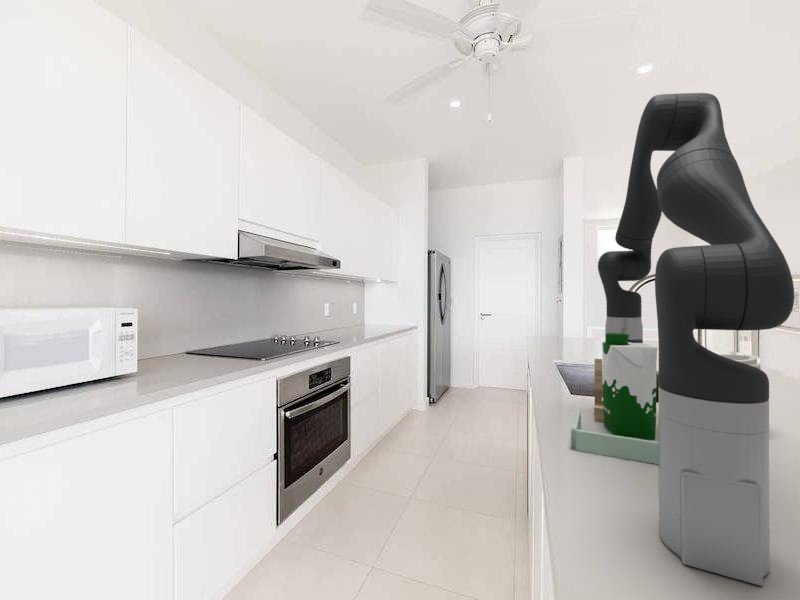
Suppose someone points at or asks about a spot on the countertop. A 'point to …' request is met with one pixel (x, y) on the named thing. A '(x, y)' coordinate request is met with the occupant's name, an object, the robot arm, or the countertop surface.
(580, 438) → the tray
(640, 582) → the countertop surface
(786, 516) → the countertop surface
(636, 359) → the soya milk
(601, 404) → the brown box
